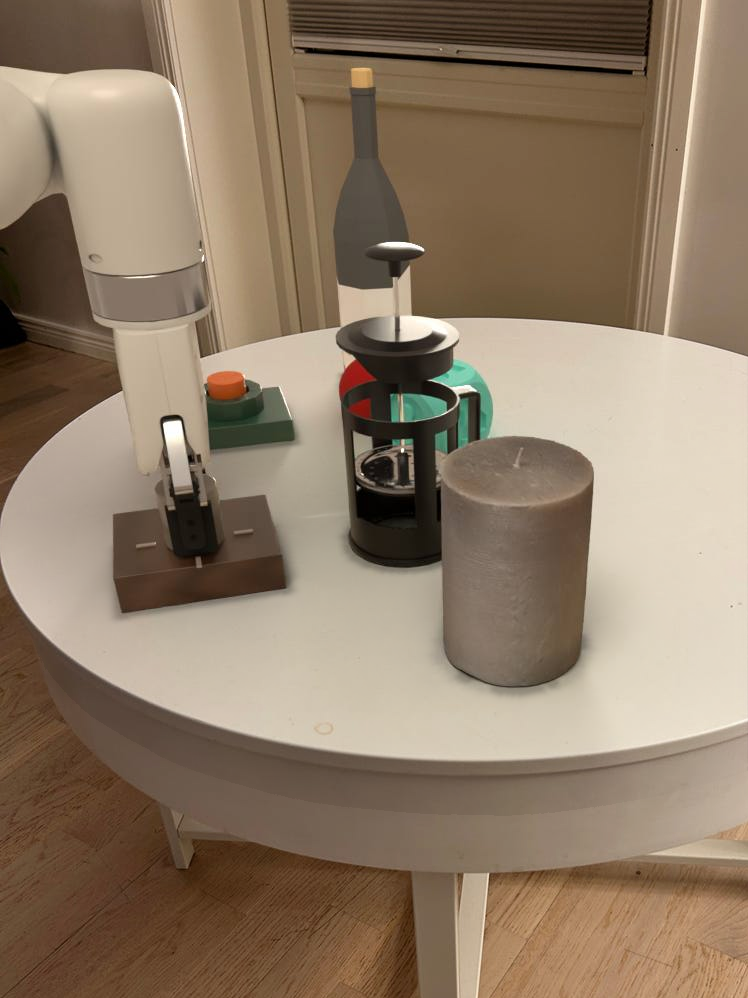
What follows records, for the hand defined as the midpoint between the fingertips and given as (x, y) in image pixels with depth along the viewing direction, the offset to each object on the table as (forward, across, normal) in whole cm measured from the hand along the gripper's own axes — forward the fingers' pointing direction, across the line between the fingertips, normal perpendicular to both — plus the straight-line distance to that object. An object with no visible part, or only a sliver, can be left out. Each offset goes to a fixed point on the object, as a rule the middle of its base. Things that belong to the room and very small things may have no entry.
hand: (194, 533), depth 75 cm
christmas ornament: (+4, -24, +19) cm, 31 cm away
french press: (+4, -1, +17) cm, 17 cm away
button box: (+4, -27, +5) cm, 28 cm away
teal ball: (+4, -16, +23) cm, 28 cm away
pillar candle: (+4, +16, +20) cm, 26 cm away
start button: (0, -27, +5) cm, 27 cm away
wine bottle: (+4, -37, +22) cm, 43 cm away
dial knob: (+1, 0, 0) cm, 1 cm away
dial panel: (+4, -1, 0) cm, 4 cm away
